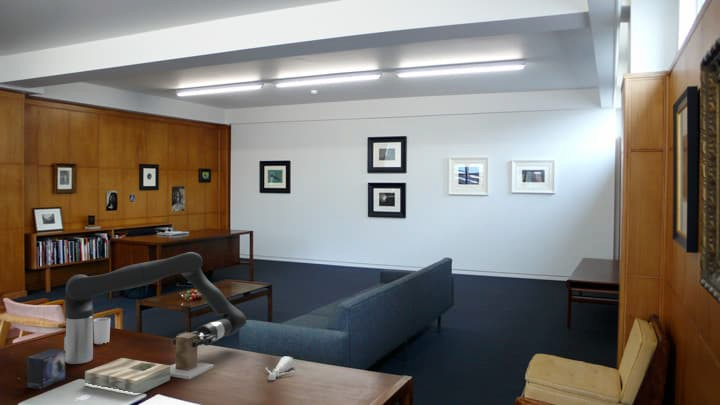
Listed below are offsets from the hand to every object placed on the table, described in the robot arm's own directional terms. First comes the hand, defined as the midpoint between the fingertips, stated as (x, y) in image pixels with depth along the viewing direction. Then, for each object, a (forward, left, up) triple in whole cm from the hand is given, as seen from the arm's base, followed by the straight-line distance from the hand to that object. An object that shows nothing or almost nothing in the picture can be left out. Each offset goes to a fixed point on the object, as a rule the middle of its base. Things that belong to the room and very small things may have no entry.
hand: (183, 343), depth 192 cm
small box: (-35, -27, -11) cm, 46 cm away
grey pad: (0, +2, -11) cm, 11 cm away
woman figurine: (+33, +13, -11) cm, 37 cm away
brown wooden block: (0, +2, -10) cm, 10 cm away
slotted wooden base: (-10, -16, -11) cm, 22 cm away
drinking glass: (-57, +17, -11) cm, 60 cm away
